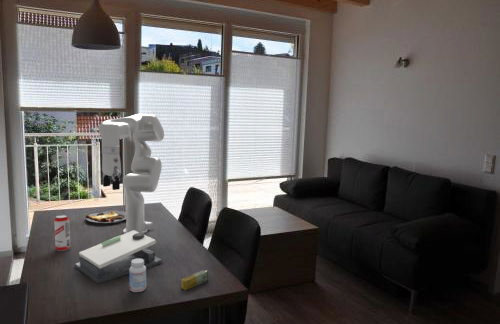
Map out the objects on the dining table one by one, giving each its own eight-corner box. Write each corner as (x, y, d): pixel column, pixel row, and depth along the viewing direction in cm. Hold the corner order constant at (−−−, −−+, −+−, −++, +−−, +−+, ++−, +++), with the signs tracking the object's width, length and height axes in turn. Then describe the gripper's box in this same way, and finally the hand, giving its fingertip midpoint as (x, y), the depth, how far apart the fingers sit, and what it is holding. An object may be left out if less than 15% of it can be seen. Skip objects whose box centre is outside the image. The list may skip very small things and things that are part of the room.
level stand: (136, 249, 192) (136, 240, 191) (161, 262, 178) (161, 252, 177) (75, 266, 171) (74, 256, 171) (98, 283, 157) (98, 271, 156)
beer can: (64, 252, 187) (63, 218, 184) (52, 250, 188) (50, 217, 186) (73, 247, 193) (71, 214, 191) (61, 246, 194) (59, 213, 192)
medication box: (203, 278, 164) (203, 269, 163) (208, 280, 162) (208, 271, 162) (180, 288, 155) (180, 278, 154) (185, 291, 153) (185, 280, 153)
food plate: (97, 228, 221) (97, 222, 221) (78, 219, 237) (78, 213, 236) (137, 220, 240) (137, 214, 239) (117, 212, 255) (117, 207, 255)
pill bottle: (131, 285, 156) (130, 257, 154) (147, 285, 157) (147, 257, 155) (128, 292, 150) (127, 264, 148) (144, 292, 151) (144, 263, 149)
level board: (134, 233, 188) (133, 226, 188) (156, 243, 176) (155, 236, 175) (79, 255, 171) (78, 248, 170) (99, 268, 158) (98, 261, 158)
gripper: (127, 152, 180) (127, 190, 182) (110, 148, 193) (110, 184, 195) (111, 152, 175) (111, 191, 177) (94, 149, 188) (95, 185, 190)
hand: (111, 187), depth 186 cm, fingers open, 9 cm apart
